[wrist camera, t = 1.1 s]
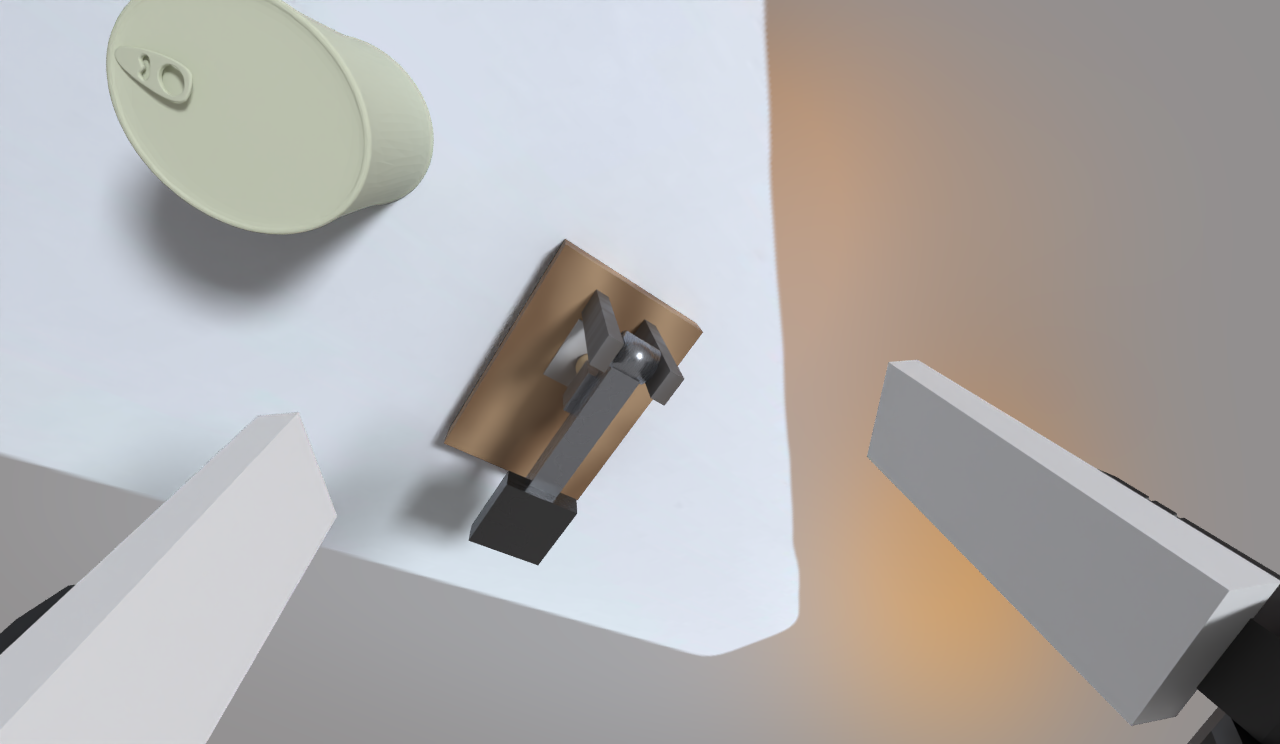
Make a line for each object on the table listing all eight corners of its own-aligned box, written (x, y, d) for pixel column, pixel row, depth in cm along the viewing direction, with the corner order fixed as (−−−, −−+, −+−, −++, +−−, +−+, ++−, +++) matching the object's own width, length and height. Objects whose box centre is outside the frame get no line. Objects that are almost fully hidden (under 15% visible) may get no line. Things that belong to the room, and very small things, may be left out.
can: (289, -3, 27) (109, -100, 16) (455, 92, 30) (399, 66, 19) (250, 158, 29) (76, 168, 19) (406, 230, 32) (332, 275, 22)
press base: (448, 429, 39) (413, 525, 29) (565, 238, 34) (568, 278, 24) (576, 485, 44) (582, 585, 34) (696, 323, 39) (743, 385, 29)
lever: (478, 495, 35) (468, 540, 31) (604, 305, 30) (611, 330, 26) (540, 519, 37) (538, 565, 33) (667, 344, 32) (683, 372, 28)
